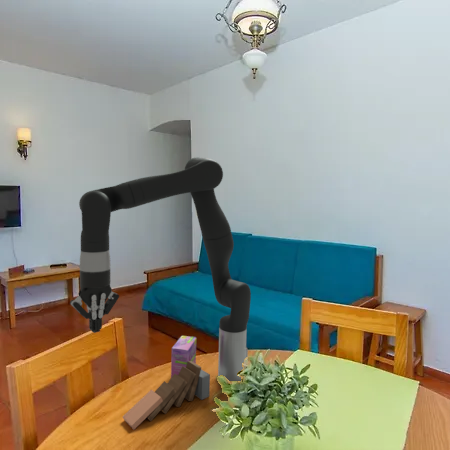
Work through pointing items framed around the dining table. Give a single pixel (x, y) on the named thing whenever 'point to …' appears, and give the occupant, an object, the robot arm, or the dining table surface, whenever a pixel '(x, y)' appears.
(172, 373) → the box
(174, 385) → the domino
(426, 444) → the dining table surface
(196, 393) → the block
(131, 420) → the domino end
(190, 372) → the domino
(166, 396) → the domino
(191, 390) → the domino
